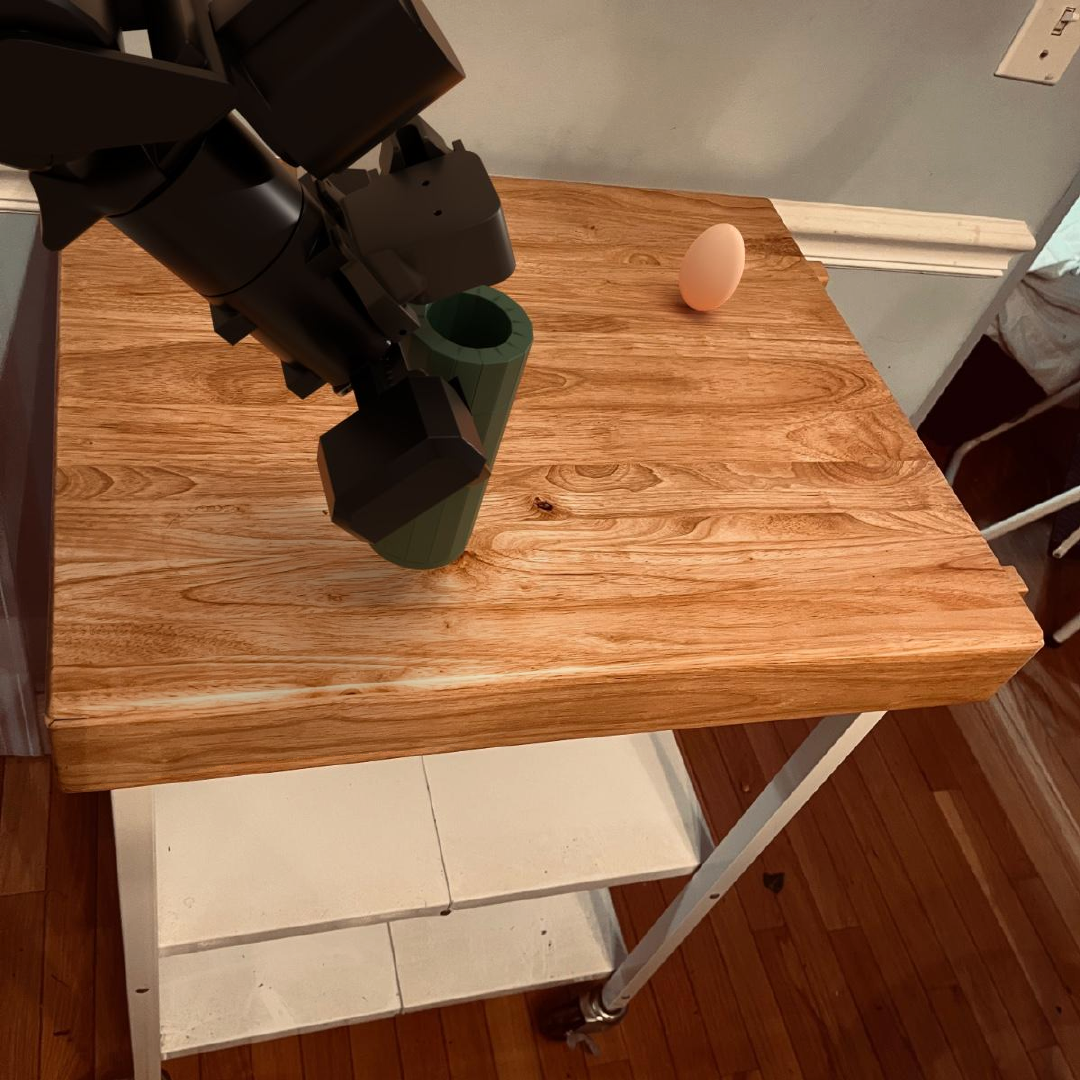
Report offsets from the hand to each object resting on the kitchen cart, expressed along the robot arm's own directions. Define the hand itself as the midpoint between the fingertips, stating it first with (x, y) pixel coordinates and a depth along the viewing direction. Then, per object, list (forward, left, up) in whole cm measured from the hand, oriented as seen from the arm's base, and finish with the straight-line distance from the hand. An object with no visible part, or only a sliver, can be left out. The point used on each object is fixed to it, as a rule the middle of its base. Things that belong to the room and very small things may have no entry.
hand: (466, 433), depth 52 cm
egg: (+21, +31, -11) cm, 39 cm away
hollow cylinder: (-1, 0, -7) cm, 7 cm away
